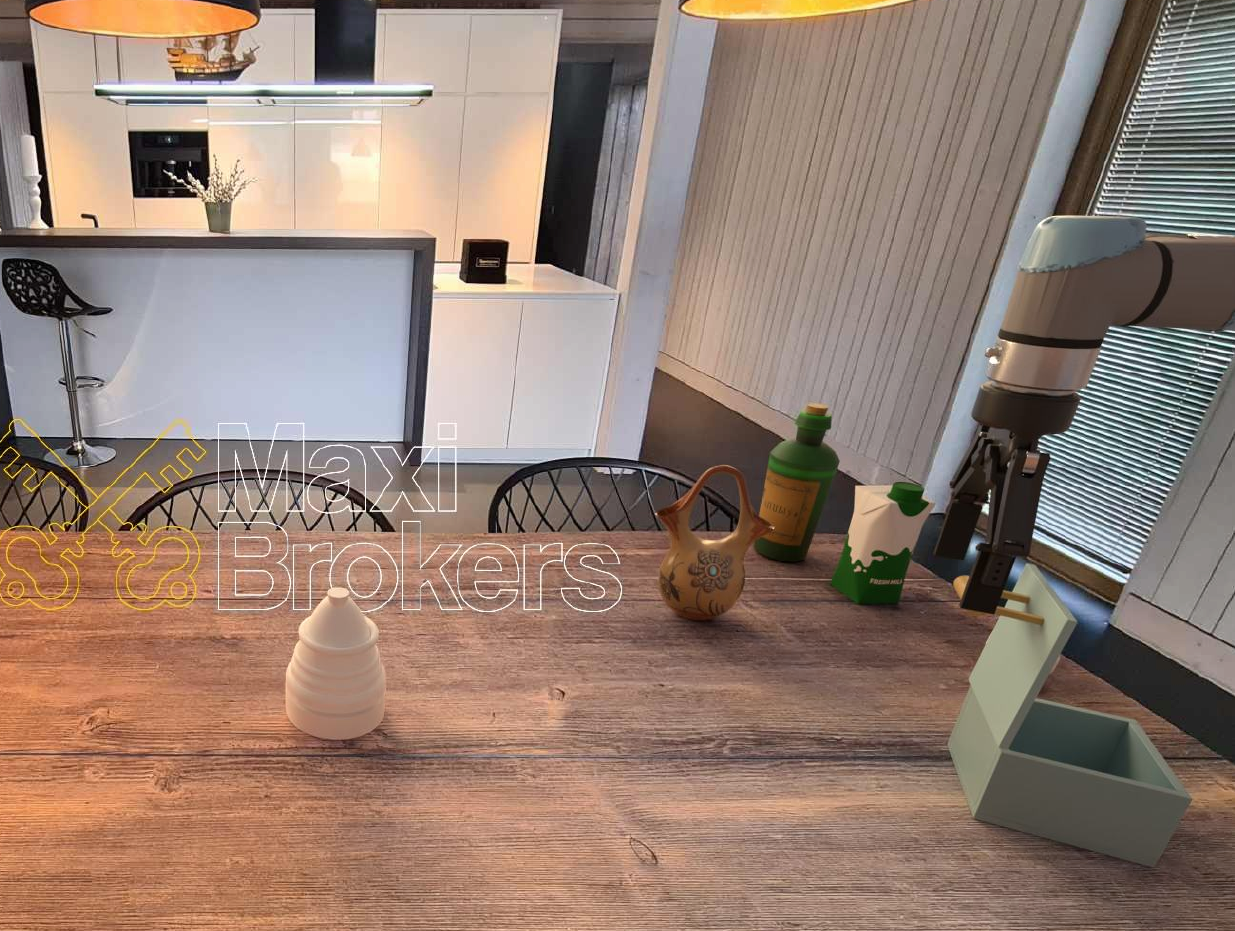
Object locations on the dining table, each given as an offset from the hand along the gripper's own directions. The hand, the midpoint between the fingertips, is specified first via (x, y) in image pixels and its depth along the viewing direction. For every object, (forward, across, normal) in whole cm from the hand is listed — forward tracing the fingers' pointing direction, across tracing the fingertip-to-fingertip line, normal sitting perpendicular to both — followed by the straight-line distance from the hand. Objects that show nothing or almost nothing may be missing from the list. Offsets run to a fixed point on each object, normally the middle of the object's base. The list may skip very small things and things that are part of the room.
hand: (961, 582), depth 86 cm
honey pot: (+24, +21, -64) cm, 71 cm away
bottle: (+24, -59, -11) cm, 65 cm away
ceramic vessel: (+24, -27, -24) cm, 43 cm away
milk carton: (+24, -48, +1) cm, 54 cm away
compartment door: (+7, 0, +7) cm, 10 cm away
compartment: (+24, 0, +13) cm, 28 cm away
